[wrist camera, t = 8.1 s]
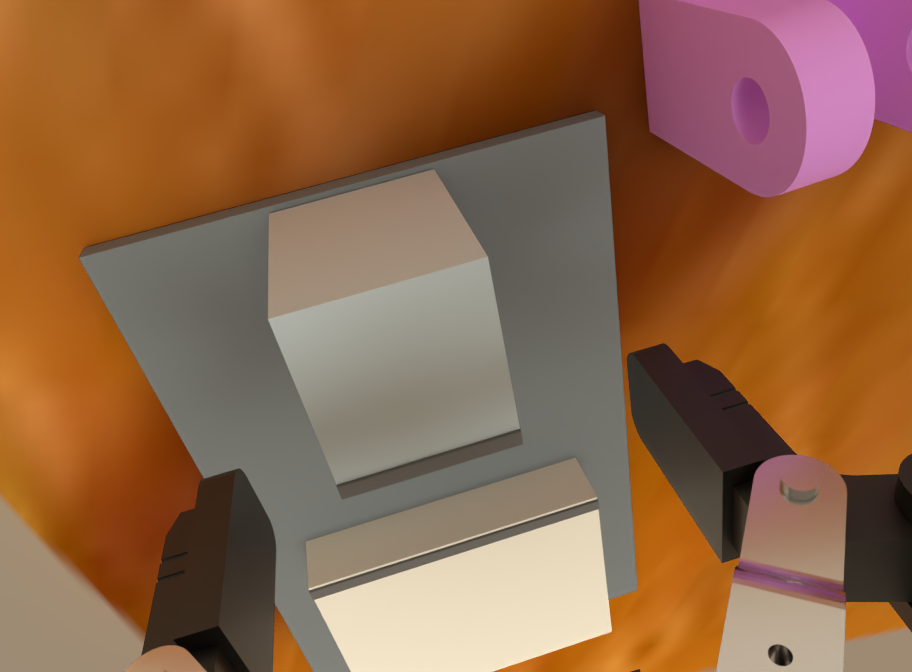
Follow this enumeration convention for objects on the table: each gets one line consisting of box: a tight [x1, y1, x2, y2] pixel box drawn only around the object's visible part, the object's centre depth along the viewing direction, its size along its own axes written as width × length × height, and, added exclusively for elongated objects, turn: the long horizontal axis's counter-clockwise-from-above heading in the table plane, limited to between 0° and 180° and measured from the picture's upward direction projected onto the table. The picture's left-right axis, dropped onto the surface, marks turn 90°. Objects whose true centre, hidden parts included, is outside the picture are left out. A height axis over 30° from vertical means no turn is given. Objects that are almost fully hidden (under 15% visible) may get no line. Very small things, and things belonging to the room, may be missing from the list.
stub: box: [268, 169, 523, 500], centre depth 17 cm, size 4×5×6 cm
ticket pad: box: [79, 110, 637, 672], centre depth 23 cm, size 14×21×3 cm, turn 12°
